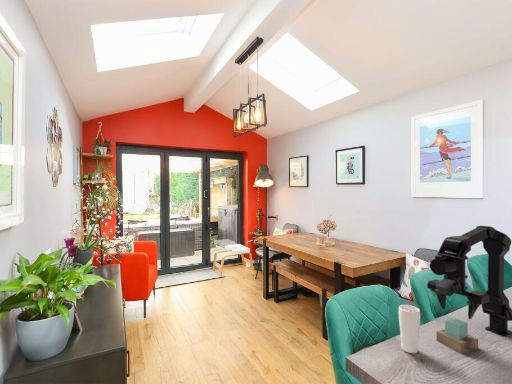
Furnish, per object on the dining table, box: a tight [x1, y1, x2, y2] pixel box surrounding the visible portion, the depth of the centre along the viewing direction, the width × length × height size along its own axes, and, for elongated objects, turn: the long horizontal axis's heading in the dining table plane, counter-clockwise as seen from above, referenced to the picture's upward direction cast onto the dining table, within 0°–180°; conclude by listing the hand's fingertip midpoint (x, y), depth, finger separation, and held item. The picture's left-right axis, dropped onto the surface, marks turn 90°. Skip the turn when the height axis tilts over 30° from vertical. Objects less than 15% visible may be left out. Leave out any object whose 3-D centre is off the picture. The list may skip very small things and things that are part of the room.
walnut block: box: [435, 328, 479, 355], centre depth 102 cm, size 9×9×4 cm
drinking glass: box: [398, 304, 421, 354], centre depth 99 cm, size 7×7×15 cm
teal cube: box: [444, 317, 469, 340], centre depth 102 cm, size 5×5×5 cm
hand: (456, 313), depth 102 cm, fingers open, 9 cm apart
